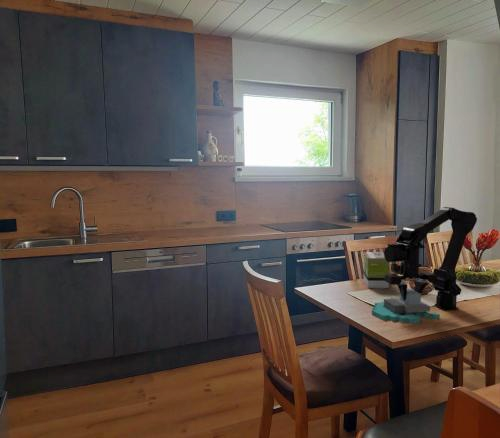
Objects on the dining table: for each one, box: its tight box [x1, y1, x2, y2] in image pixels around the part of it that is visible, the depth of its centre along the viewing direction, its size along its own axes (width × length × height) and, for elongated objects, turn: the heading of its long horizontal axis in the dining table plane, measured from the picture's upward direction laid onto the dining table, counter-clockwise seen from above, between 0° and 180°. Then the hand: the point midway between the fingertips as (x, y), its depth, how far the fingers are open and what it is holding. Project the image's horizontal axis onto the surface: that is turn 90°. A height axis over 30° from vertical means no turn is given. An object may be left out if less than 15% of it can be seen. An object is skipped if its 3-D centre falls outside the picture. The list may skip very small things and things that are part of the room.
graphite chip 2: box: [389, 302, 405, 314], centre depth 149 cm, size 4×4×3 cm
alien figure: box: [371, 301, 441, 324], centre depth 151 cm, size 20×2×20 cm
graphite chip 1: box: [383, 298, 399, 310], centre depth 153 cm, size 4×4×3 cm
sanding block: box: [390, 288, 431, 313], centre depth 151 cm, size 9×12×6 cm
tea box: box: [363, 251, 390, 289], centre depth 192 cm, size 15×10×15 cm, turn 172°
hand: (409, 300), depth 151 cm, fingers closed on sanding block, 4 cm apart
